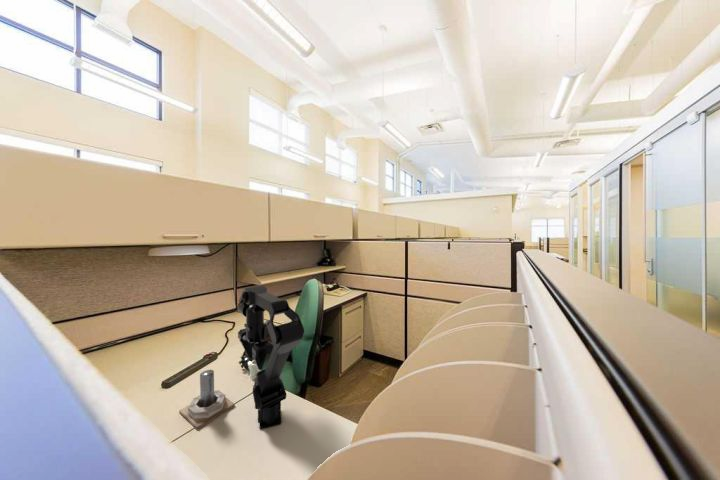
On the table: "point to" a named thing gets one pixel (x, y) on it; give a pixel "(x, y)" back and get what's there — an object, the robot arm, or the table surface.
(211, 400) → the metal pin
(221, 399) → the bore block
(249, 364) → the valve
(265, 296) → the robot arm
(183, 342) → the table surface
